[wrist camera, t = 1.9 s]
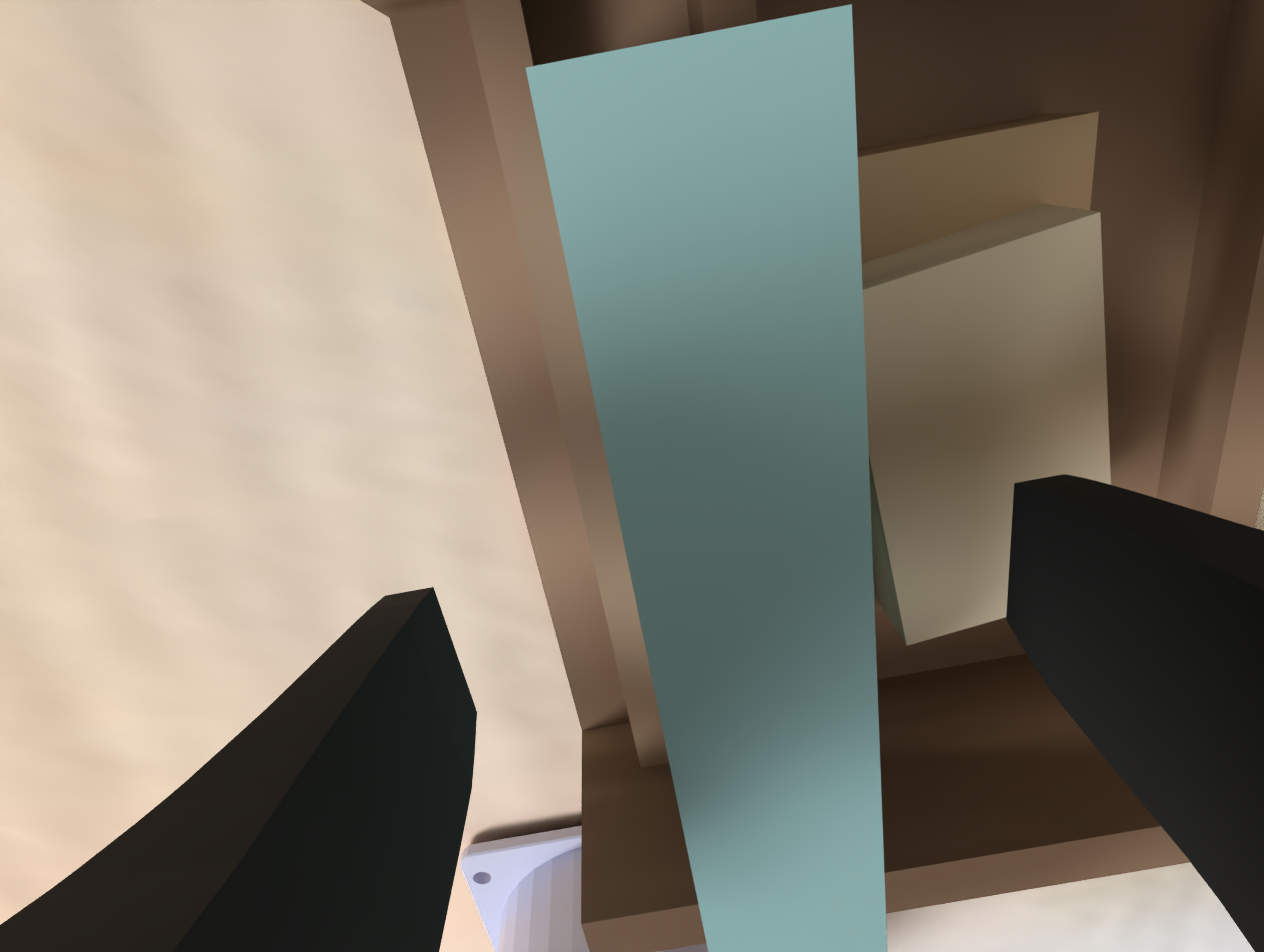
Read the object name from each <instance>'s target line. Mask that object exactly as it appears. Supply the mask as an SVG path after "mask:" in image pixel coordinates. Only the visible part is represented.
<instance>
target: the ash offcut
mask: <svg viewBox="0 0 1264 952" xmlns="http://www.w3.org/2000/svg"><path fill="white" fill-rule="evenodd" d="M862 288H863V315H864V342H865V368H866V395H867V422H868V448H869V475H870V502H871V528H872V555H873V577H874V582H875V586H876V591H877V596H878V600H879V602H880V604H881V606H882V607H883V609H884V610H885V612H886V614H887V615H888V617H889V618H890V620H891V621H892V623H893V625H894V626H895V628H896V629H897V631H898V633H899V634H900V636H901V637H902V639H903V641H904V642H905V644H906V645H907V646H908V645H911V644H915V643H918V642H921V641H925V640H928V639H932V638H935V637H939V636H942V635H946V634H949V633H953V632H956V631H960V630H963V629H967V628H970V627H974V626H977V625H980V624H984V623H987V622H991V621H994V620H998V619H1001V618H1005V617H1006V612H1007V596H1008V579H1009V562H1010V546H1011V529H1012V512H1013V495H1014V483H1018V482H1023V481H1029V480H1034V479H1040V478H1045V477H1051V476H1057V475H1062V474H1067V475H1072V476H1077V477H1082V478H1086V479H1090V480H1095V481H1099V482H1102V483H1106V484H1110V485H1111V473H1110V448H1109V422H1108V397H1107V371H1106V346H1105V320H1104V294H1103V269H1102V243H1101V218H1100V212H1097V211H1090V210H1084V209H1077V208H1070V207H1064V206H1057V205H1051V204H1044V203H1043V204H1040V205H1037V206H1034V207H1031V208H1028V209H1025V210H1022V211H1019V212H1016V213H1013V214H1010V215H1007V216H1004V217H1001V218H998V219H995V220H992V221H989V222H986V223H983V224H980V225H977V226H974V227H971V228H968V229H965V230H962V231H959V232H956V233H953V234H950V235H947V236H944V237H941V238H938V239H935V240H932V241H929V242H926V243H923V244H920V245H917V246H914V247H911V248H908V249H905V250H902V251H899V252H896V253H892V254H889V255H886V256H883V257H880V258H877V259H874V260H871V261H868V262H865V263H862Z"/></svg>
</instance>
